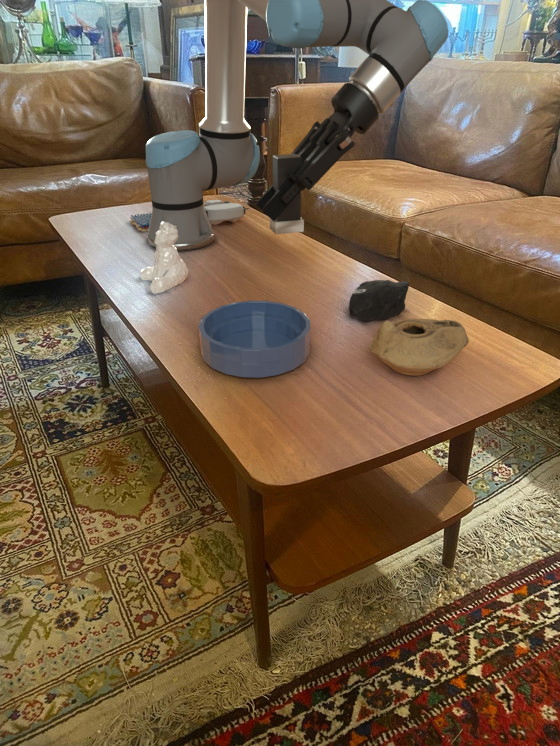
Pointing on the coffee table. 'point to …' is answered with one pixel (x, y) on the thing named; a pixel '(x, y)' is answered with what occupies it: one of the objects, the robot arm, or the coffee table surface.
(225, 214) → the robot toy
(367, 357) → the coffee table surface
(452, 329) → the oil lamp
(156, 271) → the white creature statuette
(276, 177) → the eraser
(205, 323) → the bowl
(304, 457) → the coffee table surface
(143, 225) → the woven mat
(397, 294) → the mineral
